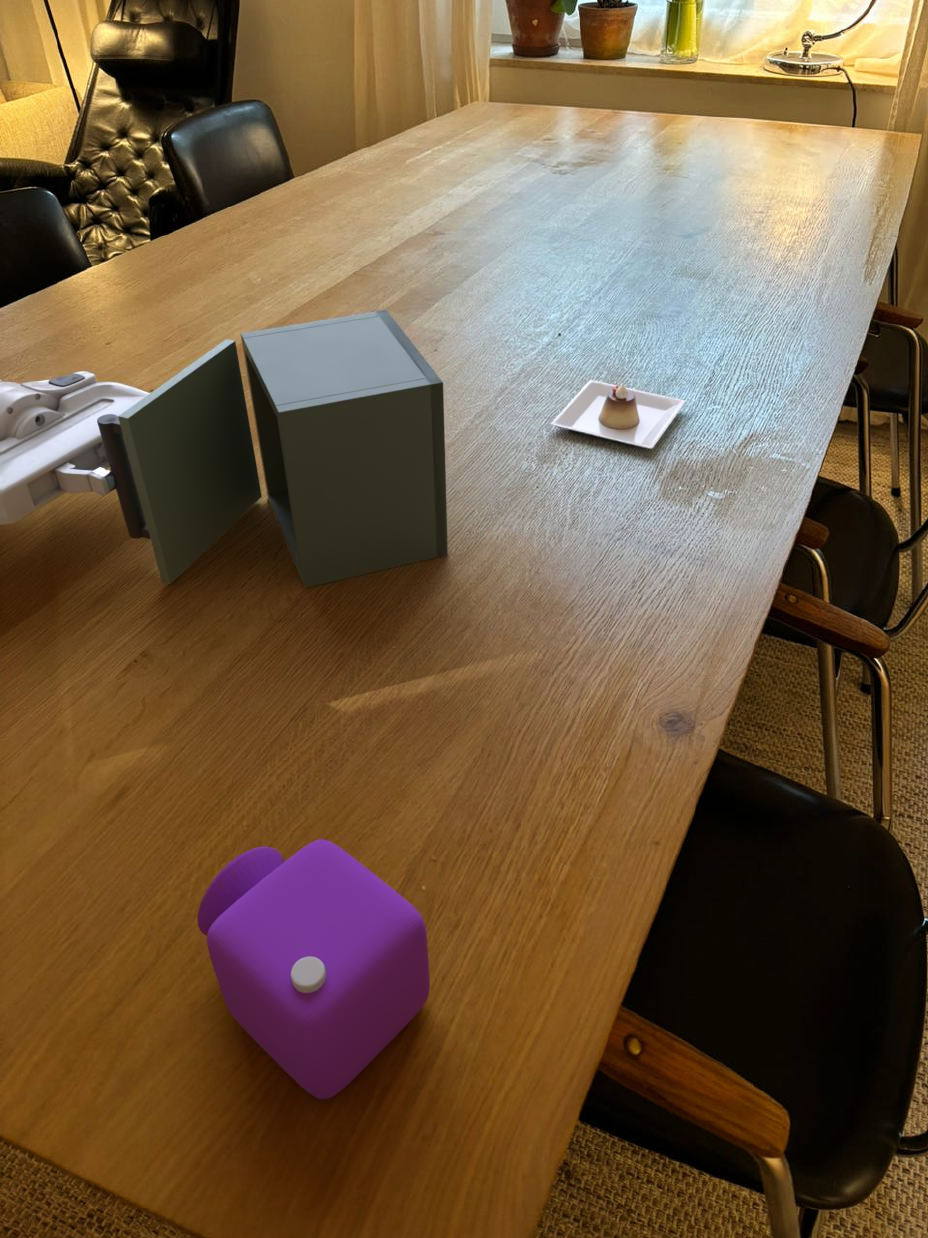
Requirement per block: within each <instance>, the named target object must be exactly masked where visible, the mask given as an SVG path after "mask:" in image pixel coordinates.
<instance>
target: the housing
mask: <svg viewBox="0 0 928 1238" xmlns="http://www.w3.org/2000/svg"><path fill="white" fill-rule="evenodd" d="M240 339H241V340H240V341H241V345H242V351H243V357H244V362H245V369H246V376H247V382H248V387H249V393H250V399H251V405H252V411H253V418H254V423H255V430H256V435H257V440H258V447H259V453H260V459H261V465H262V472H263V477H264V482H265V489H266V495H267V500H268V502H269V504H270V507H271V510H272V512H273V514H274V517H275V519H276V522H277V525H278V527H279V529H280V532H281V534H282V536H283V540H284V541H285V544H286V546H287V549H288V552H289V553H290V556H291V559H292V561H293V563H294V566H295V569H296V571H297V573H298V576H299V578H300V580H301V583H302V585H303V588H304V589H308V588H312V587H316V586H320V585H324V584H328V583H333V582H337V581H341V580H346V579H349V578H354V577H359V576H363V575H368V574H371V573H372V574H373V573H376V572H379V571H385V570H389V569H393V568H397V567H401V566H406V565H409V564H414V563H419V562H423V561H428V560H431V559H437V558H439V557H445V556H448V555H449V550H448V549H449V547H448V546H449V545H448V513H447V512H448V511H447V474H446V471H447V470H446V442H445V441H446V440H445V439H446V438H445V435H446V434H445V433H446V432H445V403H444V402H445V401H444V400H445V399H444V381H443V380H442V379H441V378H440V376H439V375H438V374H437V372H436V371H435V370H434V368H433V367H432V366H431V364H430V363H429V362H428V361H427V359H426V358H425V357H424V356H423V354H422V353H421V351H419V349H418V347H416V346H415V343H413V342H412V340H411V338H409V336H408V335H407V334H406V333H405V331H404V330H403V329H402V327H401V326H400V325H399V323H398V322H397V321H396V320H395V319H394V317H393V316H392V314H391V313H390V312H389V311H388V310H387V309H381V310H376V311H369V312H362V313H357V314H352V315H351V314H350V315H345V316H337V317H333V318H328V319H327V318H326V319H320V320H319V319H318V320H314V321H307V322H302V323H295V324H289V325H284V326H277V327H276V326H275V327H271V328H265V329H264V328H263V329H257V330H251V331H246V332H241V333H240Z"/></svg>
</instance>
